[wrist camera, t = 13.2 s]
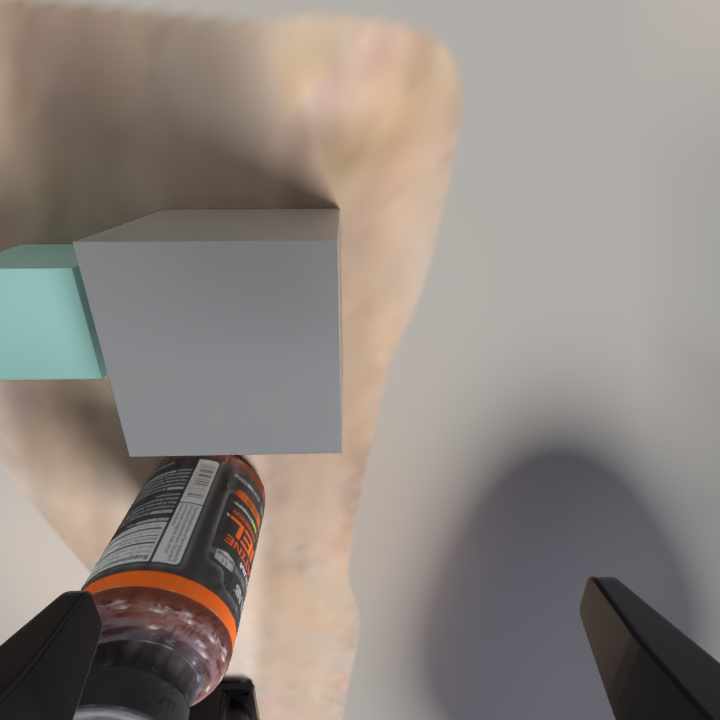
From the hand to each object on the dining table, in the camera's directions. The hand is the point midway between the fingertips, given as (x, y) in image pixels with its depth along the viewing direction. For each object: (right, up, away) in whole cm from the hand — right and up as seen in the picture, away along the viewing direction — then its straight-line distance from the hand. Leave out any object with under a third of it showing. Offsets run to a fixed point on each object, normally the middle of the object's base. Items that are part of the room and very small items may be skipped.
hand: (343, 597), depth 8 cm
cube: (-11, +7, +11) cm, 17 cm away
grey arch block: (-4, +7, +11) cm, 14 cm away
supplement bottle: (-7, -2, +15) cm, 17 cm away
